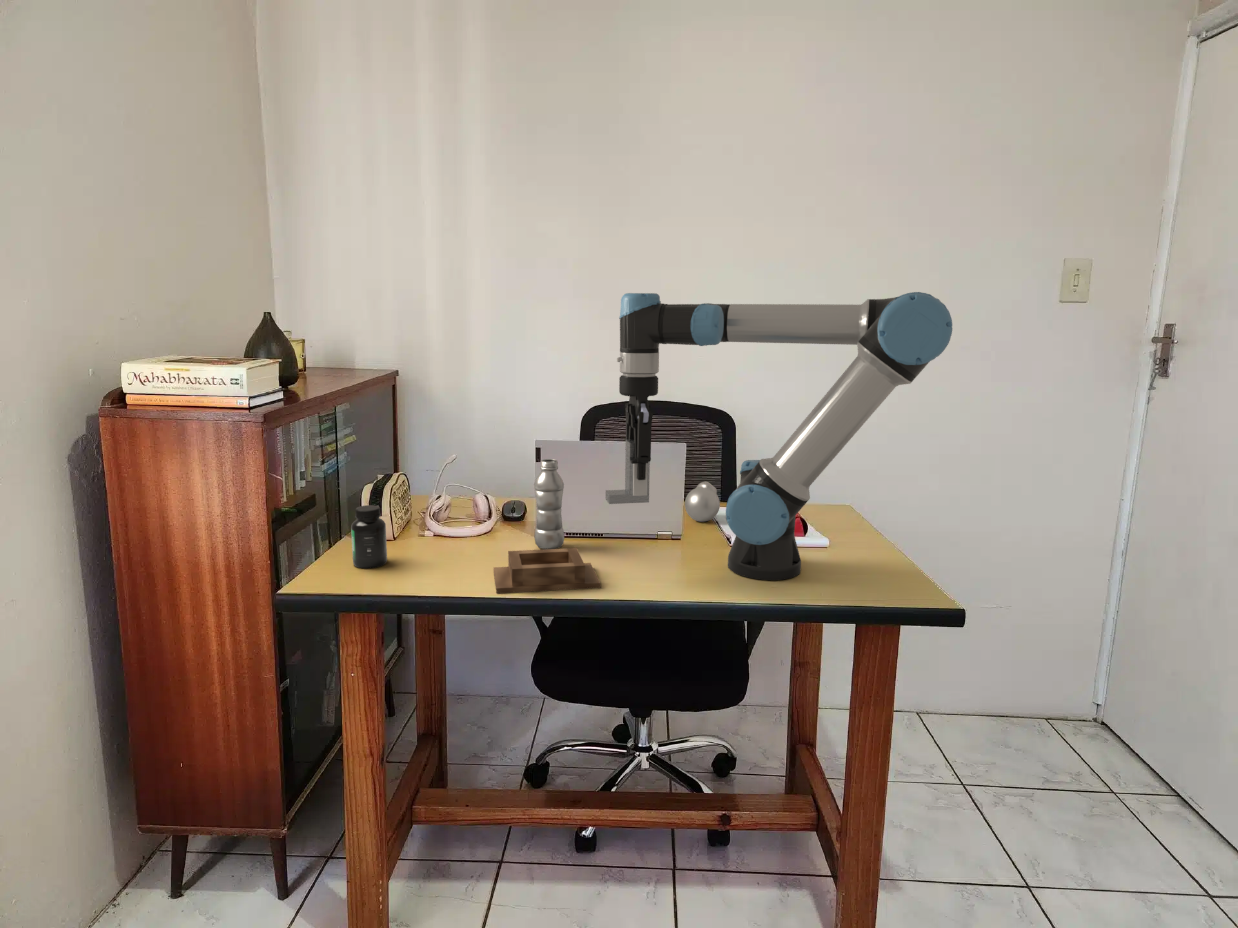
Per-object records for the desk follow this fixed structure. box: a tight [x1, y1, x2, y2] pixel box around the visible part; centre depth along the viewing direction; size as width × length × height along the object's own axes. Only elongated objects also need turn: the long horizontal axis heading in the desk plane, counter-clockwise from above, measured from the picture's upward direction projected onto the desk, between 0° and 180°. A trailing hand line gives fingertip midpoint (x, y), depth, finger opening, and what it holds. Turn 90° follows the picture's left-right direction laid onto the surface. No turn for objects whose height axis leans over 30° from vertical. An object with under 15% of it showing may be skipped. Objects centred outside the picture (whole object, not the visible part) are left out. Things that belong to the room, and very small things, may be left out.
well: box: [492, 547, 601, 594], centre depth 158 cm, size 20×12×4 cm, turn 101°
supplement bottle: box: [350, 504, 388, 570], centre depth 165 cm, size 7×7×12 cm
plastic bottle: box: [533, 458, 565, 550], centre depth 176 cm, size 6×7×20 cm
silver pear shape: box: [684, 480, 721, 523], centre depth 202 cm, size 9×10×10 cm
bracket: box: [605, 439, 651, 505], centre depth 157 cm, size 8×4×12 cm, turn 101°
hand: (637, 492), depth 159 cm, fingers closed on bracket, 4 cm apart
